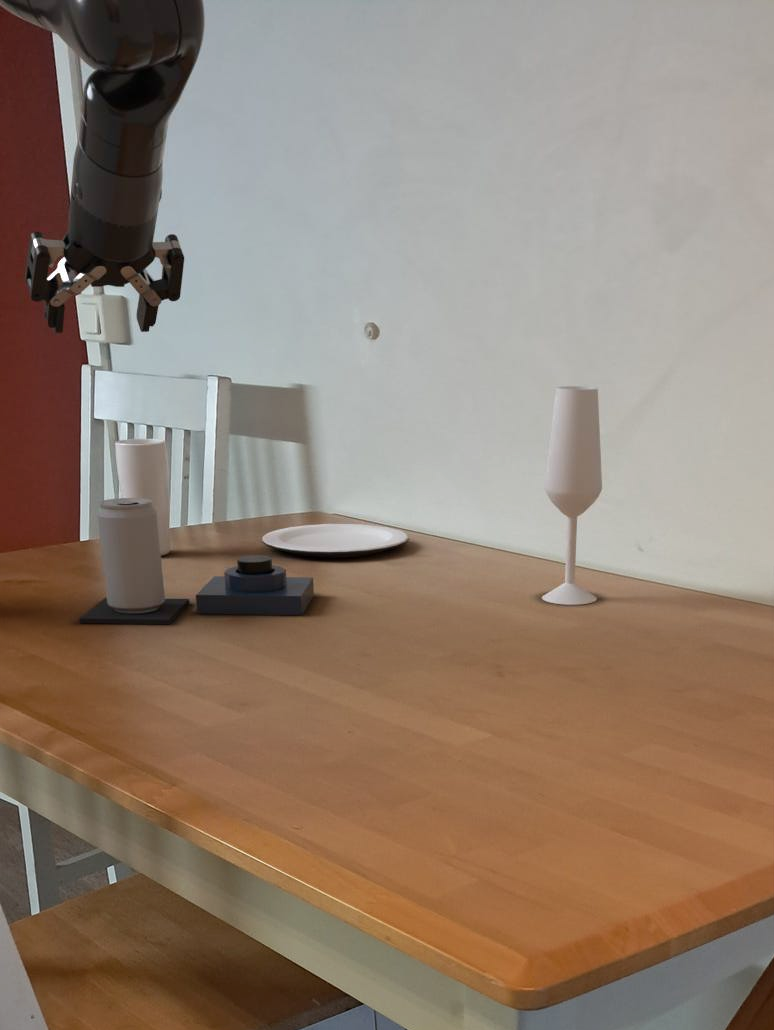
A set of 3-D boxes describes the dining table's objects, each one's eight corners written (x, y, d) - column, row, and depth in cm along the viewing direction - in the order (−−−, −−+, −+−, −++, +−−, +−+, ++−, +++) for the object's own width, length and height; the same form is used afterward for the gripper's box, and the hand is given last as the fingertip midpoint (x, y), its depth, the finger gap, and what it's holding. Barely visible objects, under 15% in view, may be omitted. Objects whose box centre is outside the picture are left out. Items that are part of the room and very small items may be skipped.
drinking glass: (117, 553, 177) (104, 441, 171) (160, 547, 181) (149, 437, 175) (141, 561, 172) (129, 445, 166) (185, 554, 177) (175, 441, 170)
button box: (197, 614, 146) (194, 579, 144) (215, 594, 155) (212, 561, 153) (301, 615, 145) (300, 580, 144) (313, 595, 154) (312, 562, 153)
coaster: (79, 623, 141) (78, 618, 141) (105, 602, 150) (104, 597, 150) (169, 624, 141) (168, 619, 141) (189, 603, 150) (189, 598, 150)
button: (234, 577, 147) (233, 562, 146) (241, 570, 150) (240, 555, 150) (269, 577, 147) (268, 562, 146) (275, 570, 150) (274, 555, 150)
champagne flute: (536, 593, 156) (541, 385, 147) (588, 591, 158) (597, 385, 148) (548, 605, 150) (555, 390, 141) (603, 603, 152) (613, 390, 142)
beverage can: (118, 617, 141) (105, 507, 136) (100, 606, 146) (88, 498, 141) (173, 610, 144) (163, 502, 139) (154, 599, 149) (144, 494, 144)
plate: (297, 568, 169) (296, 555, 168) (240, 542, 185) (239, 530, 184) (434, 553, 179) (434, 541, 178) (369, 530, 195) (369, 518, 194)
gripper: (183, 162, 117) (159, 296, 131) (23, 154, 111) (16, 296, 125) (205, 225, 115) (179, 354, 129) (44, 220, 109) (35, 357, 123)
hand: (99, 326), depth 127 cm, fingers open, 8 cm apart
